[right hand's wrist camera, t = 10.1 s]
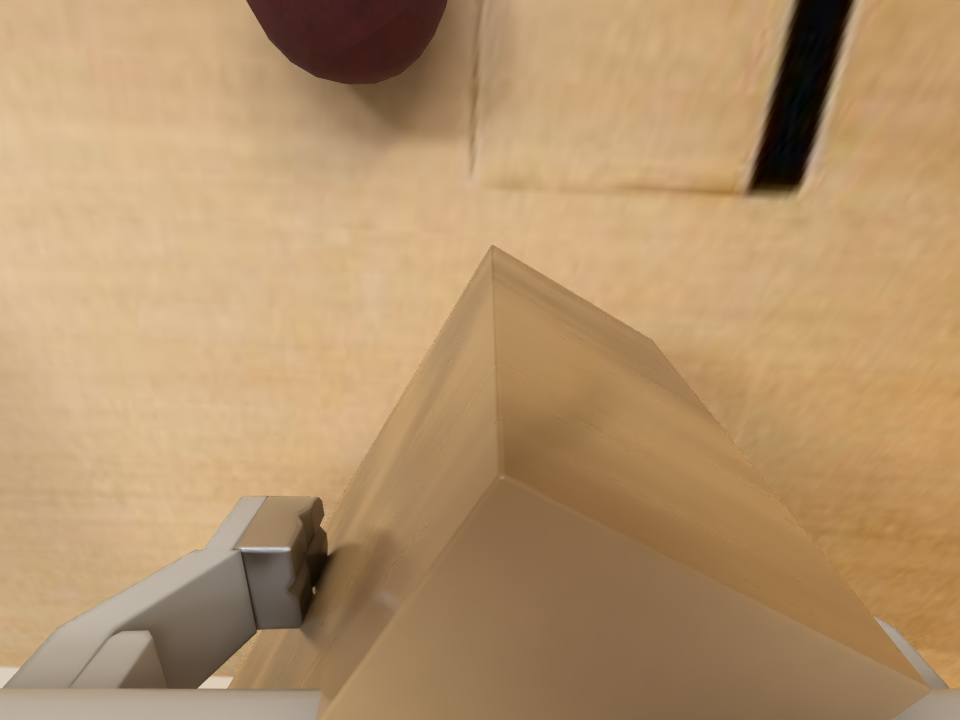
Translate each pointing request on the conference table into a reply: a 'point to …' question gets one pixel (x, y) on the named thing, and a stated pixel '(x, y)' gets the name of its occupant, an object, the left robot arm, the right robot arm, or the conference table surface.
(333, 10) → the dark red ball
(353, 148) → the conference table surface
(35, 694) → the right robot arm
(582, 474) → the bar
